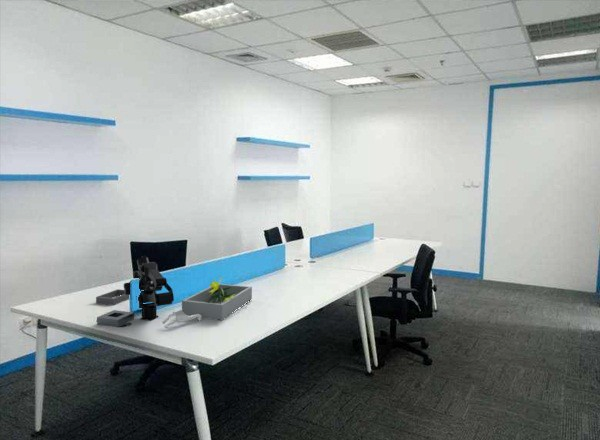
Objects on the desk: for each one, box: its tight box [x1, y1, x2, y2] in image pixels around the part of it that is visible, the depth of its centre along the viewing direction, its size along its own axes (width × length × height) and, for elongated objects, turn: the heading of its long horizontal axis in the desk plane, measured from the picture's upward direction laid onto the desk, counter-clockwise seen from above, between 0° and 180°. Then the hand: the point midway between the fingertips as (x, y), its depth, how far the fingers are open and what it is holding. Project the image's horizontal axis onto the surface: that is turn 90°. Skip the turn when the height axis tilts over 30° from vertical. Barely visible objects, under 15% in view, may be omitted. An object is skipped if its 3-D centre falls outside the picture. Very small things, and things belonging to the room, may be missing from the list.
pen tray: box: [95, 288, 130, 306], centre depth 248 cm, size 12×18×4 cm, turn 164°
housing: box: [96, 309, 135, 328], centre depth 210 cm, size 12×12×4 cm
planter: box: [181, 283, 253, 321], centre depth 236 cm, size 23×39×8 cm, turn 164°
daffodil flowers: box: [208, 276, 235, 304], centre depth 235 cm, size 17×15×35 cm
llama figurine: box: [162, 308, 202, 329], centre depth 209 cm, size 2×11×18 cm
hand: (140, 295), depth 230 cm, fingers closed on end plug, 5 cm apart
